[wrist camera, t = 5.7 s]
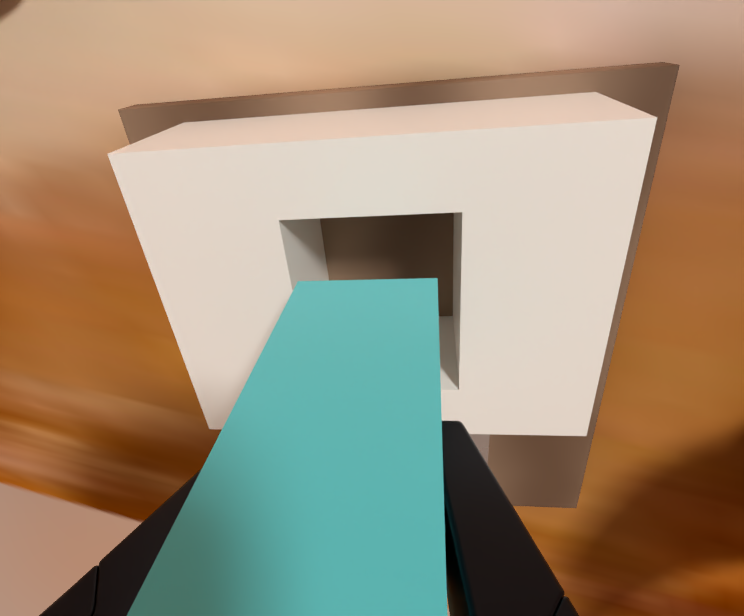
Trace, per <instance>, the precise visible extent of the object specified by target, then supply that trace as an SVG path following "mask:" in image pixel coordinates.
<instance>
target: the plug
mask: <svg viewBox="0 0 744 616" xmlns="http://www.w3.org/2000/svg"><path fill="white" fill-rule="evenodd" d="M127 616H447V586H446V552H445V517H444V483H443V449H442V414H441V380H440V346H439V311H438V278H418V279H374V280H330V281H298V282H297V284H296V286H295V288H294V290H293V292H292V294H291V296H290V298H289V300H288V302H287V303H286V305H285V307H284V309H283V311H282V313H281V315H280V317H279V319H278V321H277V323H276V325H275V327H274V329H273V331H272V333H271V335H270V337H269V339H268V341H267V343H266V345H265V346H264V348H263V350H262V352H261V354H260V356H259V358H258V360H257V362H256V364H255V366H254V368H253V370H252V372H251V374H250V376H249V378H248V380H247V382H246V384H245V386H244V388H243V389H242V391H241V393H240V395H239V397H238V399H237V401H236V403H235V405H234V407H233V409H232V411H231V413H230V415H229V417H228V419H227V421H226V423H225V425H224V427H223V429H222V431H221V432H220V434H219V436H218V438H217V440H216V442H215V444H214V446H213V448H212V450H211V452H210V454H209V456H208V458H207V460H206V462H205V464H204V466H203V468H202V470H201V472H200V473H199V475H198V477H197V479H196V481H195V483H194V485H193V487H192V489H191V491H190V493H189V495H188V497H187V499H186V501H185V503H184V505H183V507H182V509H181V511H180V513H179V515H178V516H177V518H176V520H175V522H174V524H173V526H172V528H171V530H170V532H169V534H168V536H167V538H166V540H165V542H164V544H163V546H162V548H161V550H160V552H159V554H158V556H157V558H156V559H155V561H154V563H153V565H152V567H151V569H150V571H149V573H148V575H147V577H146V579H145V581H144V583H143V585H142V587H141V589H140V591H139V593H138V595H137V597H136V599H135V601H134V602H133V604H132V606H131V608H130V610H129V612H128V614H127Z"/></svg>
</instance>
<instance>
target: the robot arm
mask: <svg viewBox="0 0 744 616" xmlns="http://www.w3.org/2000/svg"><path fill="white" fill-rule="evenodd" d="M442 449H443V483H444V517H445V552H446V586H447V597H448V604H449V612H450V616H579V615H578V613H577V611H576V610H575V608H574V606H573V605H572V603H571V601H570V600H569V598H568V597H566V596H564V590H563V589H562V587H561V585H560V584H559V582H558V580H557V579H556V577H555V575H554V574H553V572H552V570H551V569H550V567H549V565H548V564H547V562H546V560H545V559H544V557H543V555H542V554H541V552H540V550H539V549H538V547H537V546H536V544H535V542H534V541H533V539H532V537H531V536H530V534H529V532H528V531H527V529H526V527H525V526H524V524H523V522H522V521H521V519H520V517H519V516H518V514H517V512H516V511H515V509H514V507H513V506H512V504H511V502H510V501H509V499H508V497H507V496H506V494H505V492H504V491H503V489H502V487H501V486H500V484H499V482H498V481H497V479H496V477H495V476H494V474H493V473H492V471H491V469H490V468H489V466H488V464H487V463H486V461H485V459H484V458H483V456H482V454H481V453H480V451H479V449H478V448H477V446H476V444H475V443H474V441H473V439H472V438H471V436H470V434H469V433H468V431H467V429H466V428H465V426H464V425H463V423H462V422H460V421H442ZM201 470H202V469H201ZM201 470H199V471H198V472H197V473H196V474H195V475H194V476H193V477H192V478H191V479H190V480H189V481H187V482H186V483H185V484H184V485H183V486H182V487H181V488H180V489H179V490H178V491H176V492H175V493H174V494H173V495H172V496H171V497H170V498H169V499H168V500H167V501H166V502H164V503H163V504H162V505H161V506H160V507H159V508H158V509H157V510H156V511H155V512H153V513H152V514H151V515H150V516H149V517H148V518H147V519H146V520H145V521H144V522H143V523H141V524H140V525H139V526H138V527H137V528H136V529H135V530H134V531H133V532H132V533H130V535H128V536H127V537H126V538H125V539H124V540H123V541H122V542H121V543H120V544H118V545H117V546H116V547H115V548H114V549H113V550H112V551H111V552H110V553H109V554H107V555H106V556H105V557H104V558H103V559H102V560H101V561H100V563H99V566H94V567H93V568H92V569H91V570H90V571H89V572H88V573H86V574H85V575H84V576H83V577H82V578H81V579H80V580H79V581H78V582H77V583H75V584H74V585H73V586H72V587H71V588H70V589H69V590H68V591H67V592H65V593H64V594H63V595H62V596H61V597H60V598H59V599H57V600H56V601H55V602H54V603H53V604H52V605H51V606H49V607H48V608H47V609H46V610H45V611H44V612H43V613H42V614H40V615H39V616H127V614H128V612H129V610H130V608H131V606H132V604H133V602H134V601H135V599H136V597H137V595H138V593H139V591H140V589H141V587H142V585H143V583H144V581H145V579H146V577H147V575H148V573H149V571H150V569H151V567H152V565H153V563H154V561H155V559H156V558H157V556H158V554H159V552H160V550H161V548H162V546H163V544H164V542H165V540H166V538H167V536H168V534H169V532H170V530H171V528H172V526H173V524H174V522H175V520H176V518H177V516H178V515H179V513H180V511H181V509H182V507H183V505H184V503H185V501H186V499H187V497H188V495H189V493H190V491H191V489H192V487H193V485H194V483H195V481H196V479H197V477H198V475H199V473H200V472H201Z"/></svg>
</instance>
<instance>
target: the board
mask: <svg viewBox="0 0 744 616" xmlns="http://www.w3.org/2000/svg"><path fill="white" fill-rule="evenodd" d="M678 70H679V65H677V64H671V63H665V62H660V63H647V64H635V65H623V66H610V67H598V68H585V69H573V70H561V71H548V72H536V73H524V74H511V75H499V76H486V77H474V78H462V79H449V80H437V81H425V82H412V83H400V84H387V85H375V86H363V87H350V88H338V89H326V90H313V91H301V92H289V93H276V94H264V95H251V96H239V97H227V98H214V99H202V100H190V101H177V102H165V103H152V104H140V105H133V106H130V107H126V108H123V109H119V110H118V111H119V114H120V117H121V120H122V123H123V125H124V128H125V131H126V134H127V137H128V140H129V143H130V144H133V143H135V142H138V141H140V140H143V139H145V138H147V137H150V136H152V135H155V134H157V133H160V132H162V131H164V130H167V129H169V128H172V127H174V126H177V125H179V124H182V123H184V122H197V121H211V120H224V119H238V118H251V117H265V116H278V115H292V114H305V113H318V112H332V111H345V110H359V109H372V108H386V107H399V106H413V105H426V104H440V103H453V102H466V101H480V100H493V99H507V98H520V97H534V96H547V95H561V94H574V93H588V92H597V93H600V94H602V95H605V96H607V97H609V98H612V99H614V100H617V101H619V102H621V103H624V104H626V105H629V106H631V107H633V108H636V109H638V110H641V111H643V112H645V113H648V114H650V115H653V116H655V117H657V121H656V126H655V130H654V135H653V139H652V144H651V148H650V153H649V157H648V162H647V166H646V171H645V175H644V180H643V184H642V189H641V193H640V198H639V202H638V207H637V211H636V216H635V220H634V225H633V229H632V234H631V238H630V243H629V247H628V252H627V256H626V261H625V265H624V270H623V274H622V278H621V283H620V287H619V292H618V296H617V301H616V305H615V310H614V314H613V319H612V323H611V328H610V332H609V337H608V341H607V346H606V350H605V355H604V359H603V364H602V368H601V373H600V377H599V382H598V386H597V391H596V395H595V400H594V404H593V409H592V413H591V418H590V422H589V427H588V431H587V436H551V435H497V434H490V437H489V451H488V466H489V468H490V469H491V471H492V473H493V474H494V476H495V477H496V479H497V481H498V482H499V484H500V486H501V487H502V489H503V491H504V492H505V494H506V496H507V497H508V499H509V501H510V502H511V504H512V506H535V507H562V508H576V507H577V503H578V499H579V494H580V490H581V486H582V482H583V477H584V473H585V469H586V464H587V460H588V456H589V452H590V447H591V443H592V439H593V434H594V430H595V426H596V422H597V417H598V413H599V409H600V404H601V400H602V396H603V391H604V387H605V383H606V379H607V374H608V370H609V366H610V361H611V357H612V353H613V349H614V344H615V340H616V336H617V331H618V327H619V323H620V319H621V314H622V310H623V306H624V301H625V297H626V293H627V288H628V284H629V280H630V276H631V271H632V267H633V263H634V258H635V254H636V250H637V246H638V241H639V237H640V233H641V228H642V224H643V220H644V216H645V211H646V207H647V203H648V198H649V194H650V190H651V185H652V181H653V177H654V173H655V168H656V164H657V160H658V155H659V151H660V147H661V143H662V138H663V134H664V130H665V125H666V121H667V117H668V113H669V108H670V104H671V100H672V95H673V91H674V87H675V82H676V78H677V74H678ZM320 224H321V230H322V237H323V244H324V251H325V257H326V264H327V271H328V277H329V281H330V280H374V279H418V278H438V311H439V316H453V235H454V213H433V214H410V215H387V216H364V217H341V218H320Z"/></svg>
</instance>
